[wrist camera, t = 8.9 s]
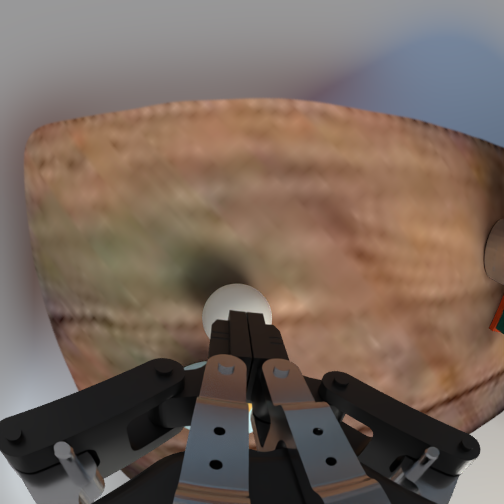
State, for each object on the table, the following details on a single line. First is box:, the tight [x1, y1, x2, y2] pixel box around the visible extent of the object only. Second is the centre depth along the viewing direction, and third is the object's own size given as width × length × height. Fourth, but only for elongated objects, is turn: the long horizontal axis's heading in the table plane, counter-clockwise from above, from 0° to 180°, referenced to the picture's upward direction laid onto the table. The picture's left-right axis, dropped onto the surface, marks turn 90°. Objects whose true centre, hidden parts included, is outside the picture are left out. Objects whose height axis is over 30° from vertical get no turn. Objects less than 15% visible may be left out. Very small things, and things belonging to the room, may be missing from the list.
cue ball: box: [202, 284, 272, 339], centre depth 24 cm, size 6×6×6 cm
